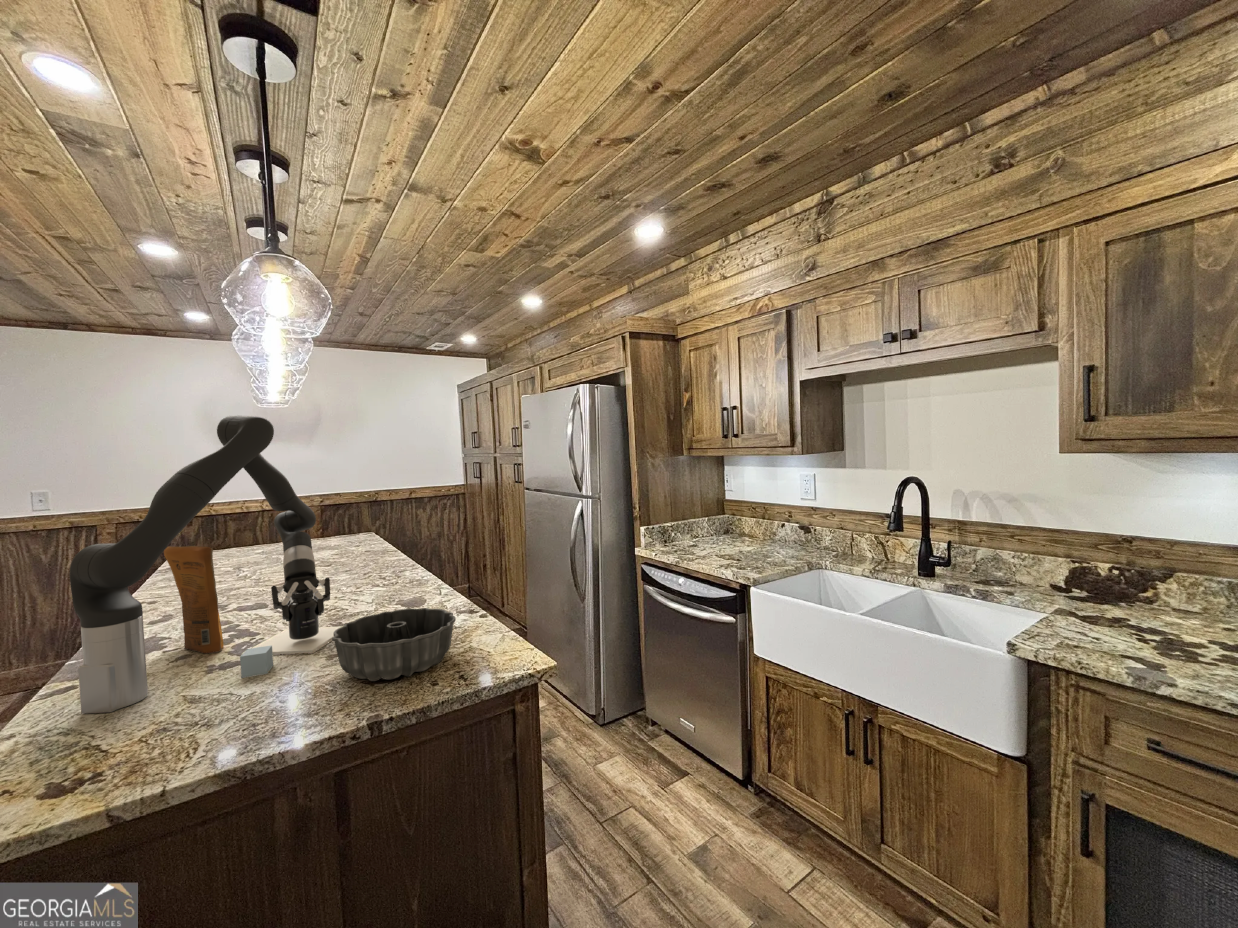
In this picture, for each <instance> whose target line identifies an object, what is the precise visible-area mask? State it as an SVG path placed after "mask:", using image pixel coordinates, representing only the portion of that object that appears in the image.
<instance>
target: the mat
mask: <svg viewBox="0 0 1238 928" xmlns="http://www.w3.org/2000/svg"><path fill="white" fill-rule="evenodd" d="M343 626H344V625H343ZM343 626H340V625H339V626H319V632H318V634H317V635H315V636H313V637H310V638H306V639H300V640H293V639H291V638H290V637H289V628H286V629H284V630H283V631H282V630H281V631H280V632H278V633H276V634H275V635H273V636H271V637H268V639H266V640H264V641H262V642H259V643H258V644H256V645H255V646H253V647H250V648H249V649H251V648H258V647H265V646H272V653H273V656H284V655H283V654H286V655H296V654H295V653H308V654H314V653H316V652H317V651H319V650H320V649H322V648H323V647H324V646H326V645H328V644H329V643H330V642H333V641H332V637H334V631H335V630H337V629H338V628H340V627H343ZM328 642H329V643H328ZM316 650H317V651H316ZM244 652H245V651H243V652H241V653H240V654H241V655H242V654H243V653H244ZM291 653H292V654H291ZM280 654H282V655H280Z"/></svg>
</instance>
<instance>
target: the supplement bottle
mask: <svg viewBox="0 0 1238 928" xmlns="http://www.w3.org/2000/svg"><path fill="white" fill-rule="evenodd" d="M312 597H313V590H312V589H303V590H298V591H294V592H293V593H292V600H293V601H292V603H290V604H289V606H288V610H289V621H288V629H289V637H290V638H291V639H293V640H300V639H306V638H310V637H313V636H315V635H317V634H318V632H319V627H320V626H319V625H320V623H319V622H320V621H319V616H318V602H317V601H316V600H315V599H312Z"/></svg>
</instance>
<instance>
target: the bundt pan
mask: <svg viewBox="0 0 1238 928" xmlns="http://www.w3.org/2000/svg"><path fill="white" fill-rule="evenodd" d="M456 618H457V617H456V616H455V615H454V612H452V611H447V610H445V609H444V608H443V609H442V608H429V607H421V608H404V609H403V608H402V609H398V610H397V609H396V610H391V611H390V610H389V611H382V612H379V613H376V614H370V615H366V616H362V617H359V618H357V619H355V620H353V621H350V622H347V623H344V624H343V627H340V628H338V629H337V630H335V631H334V637H332V641H331V642H334V644H335V648H336V649H335V650H336V654H337V658H338V663H339V666H340V668H341V669H342V670H343V672H345V673H346V674H348V675H351V676H353V677H354V678H357V679H360V680H369V681H370V682H377V681H379V680H380V679H383V680H388V681H389V680H394V679H397V678H399V677H400V676H401V675H402V676H404V677H406V678H409V677H411V676H412V675H413V674H414V673H415V672H417V673H420V672H424V671H427V670H428V669H429V668H430V667H433V666H436V665H438V664H439V663H440V662H442V661H443V659H444V657H446V654H447V653H448V651H449V650H450V647H451V644H452V638H453V629H454V623H455V622H456V621H457V620H456Z"/></svg>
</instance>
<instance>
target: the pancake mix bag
mask: <svg viewBox="0 0 1238 928" xmlns="http://www.w3.org/2000/svg"><path fill="white" fill-rule="evenodd" d="M213 551H214V548H211V547H209V546H204V545H202V546H201V545H186V546H173V545H172V546H170V545H168V546H167V547H166V549H165V550H164V551H163V555H164V558H165V559H166V562H167V563H168V565H169V567H170V570H171V573H172V576H173V578H174V582H175V585H176V586H175V587H177V591H178V593H179V597H180V601H181V614H182V623H183V624H182V625H183V633H184V637H183V639H184V649H186V650H190V651H194V652H198V653H200V654H212V653H218V652H222V651H223V649H224V648H225V647H224V639H223V638H224V637H223V630H222V624H221V623H222V622H221V619H220V611H219V597H218V593H217V592H218V591H217V583H216V576H215V569H214V568H215V567H214V558H213V557H214V556H213V555H214V553H213Z"/></svg>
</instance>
